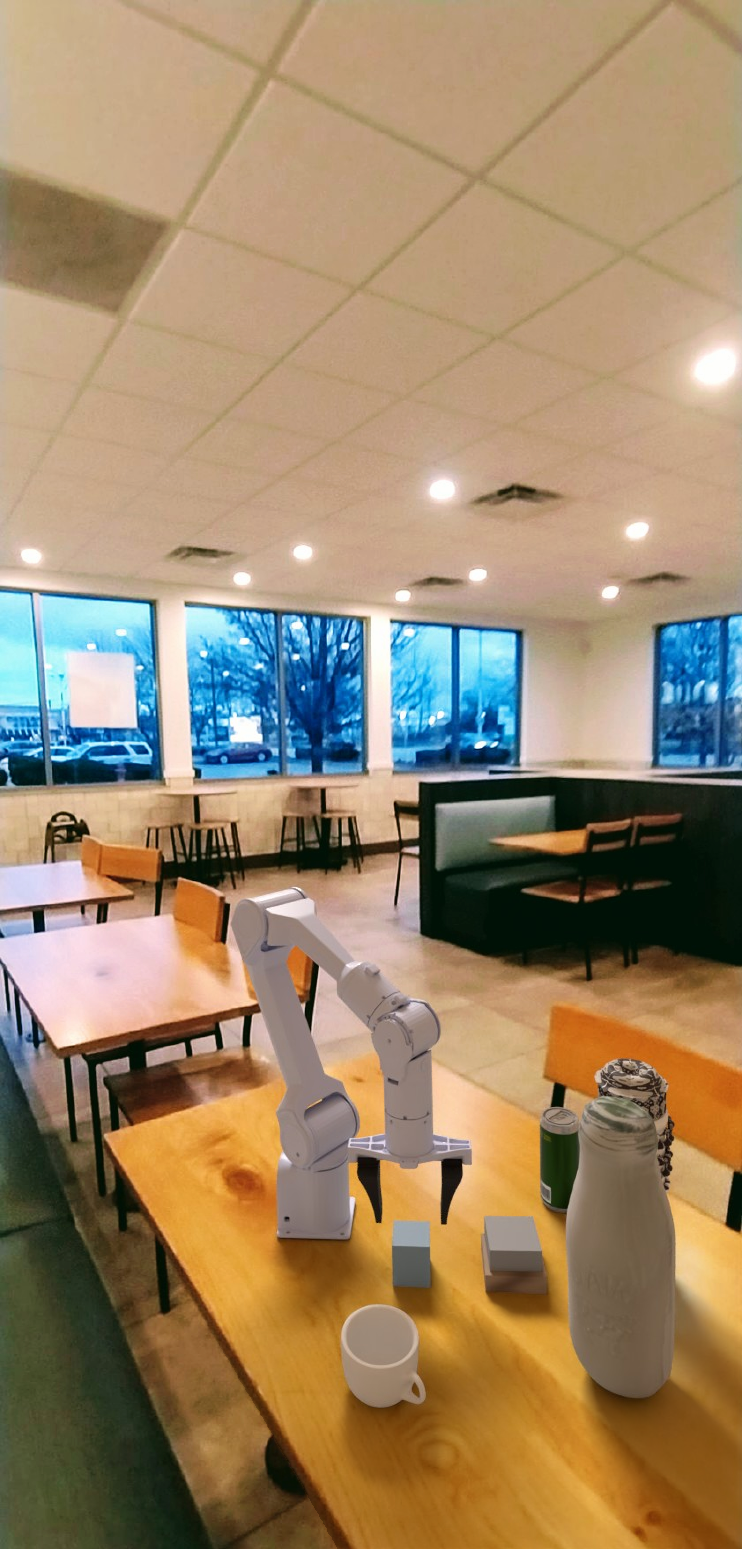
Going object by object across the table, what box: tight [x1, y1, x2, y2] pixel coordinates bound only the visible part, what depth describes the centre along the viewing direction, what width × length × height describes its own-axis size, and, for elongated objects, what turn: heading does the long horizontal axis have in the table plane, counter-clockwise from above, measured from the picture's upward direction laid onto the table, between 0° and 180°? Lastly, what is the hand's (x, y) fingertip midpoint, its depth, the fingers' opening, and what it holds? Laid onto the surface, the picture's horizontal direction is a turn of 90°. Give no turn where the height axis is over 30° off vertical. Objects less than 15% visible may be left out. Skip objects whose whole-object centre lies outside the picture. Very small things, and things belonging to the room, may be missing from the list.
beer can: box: [539, 1106, 580, 1214], centre depth 100 cm, size 5×5×12 cm
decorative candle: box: [594, 1058, 676, 1194], centre depth 86 cm, size 9×9×25 cm
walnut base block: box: [480, 1233, 548, 1295], centre depth 88 cm, size 7×7×2 cm
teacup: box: [340, 1303, 427, 1409], centre depth 72 cm, size 10×8×5 cm
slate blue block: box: [391, 1219, 431, 1288], centre depth 87 cm, size 4×4×5 cm
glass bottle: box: [565, 1096, 677, 1399], centre depth 72 cm, size 10×10×28 cm
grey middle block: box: [483, 1215, 543, 1272], centre depth 88 cm, size 6×6×2 cm
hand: (411, 1218), depth 87 cm, fingers open, 7 cm apart
